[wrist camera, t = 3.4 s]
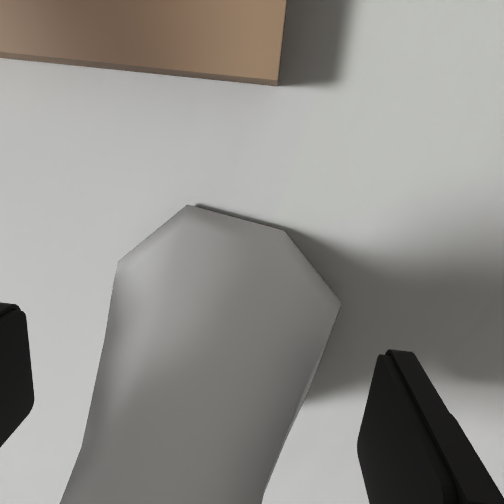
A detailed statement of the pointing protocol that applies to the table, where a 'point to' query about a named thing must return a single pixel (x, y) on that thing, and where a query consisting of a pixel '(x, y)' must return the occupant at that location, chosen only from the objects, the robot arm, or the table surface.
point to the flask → (201, 364)
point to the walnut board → (150, 36)
